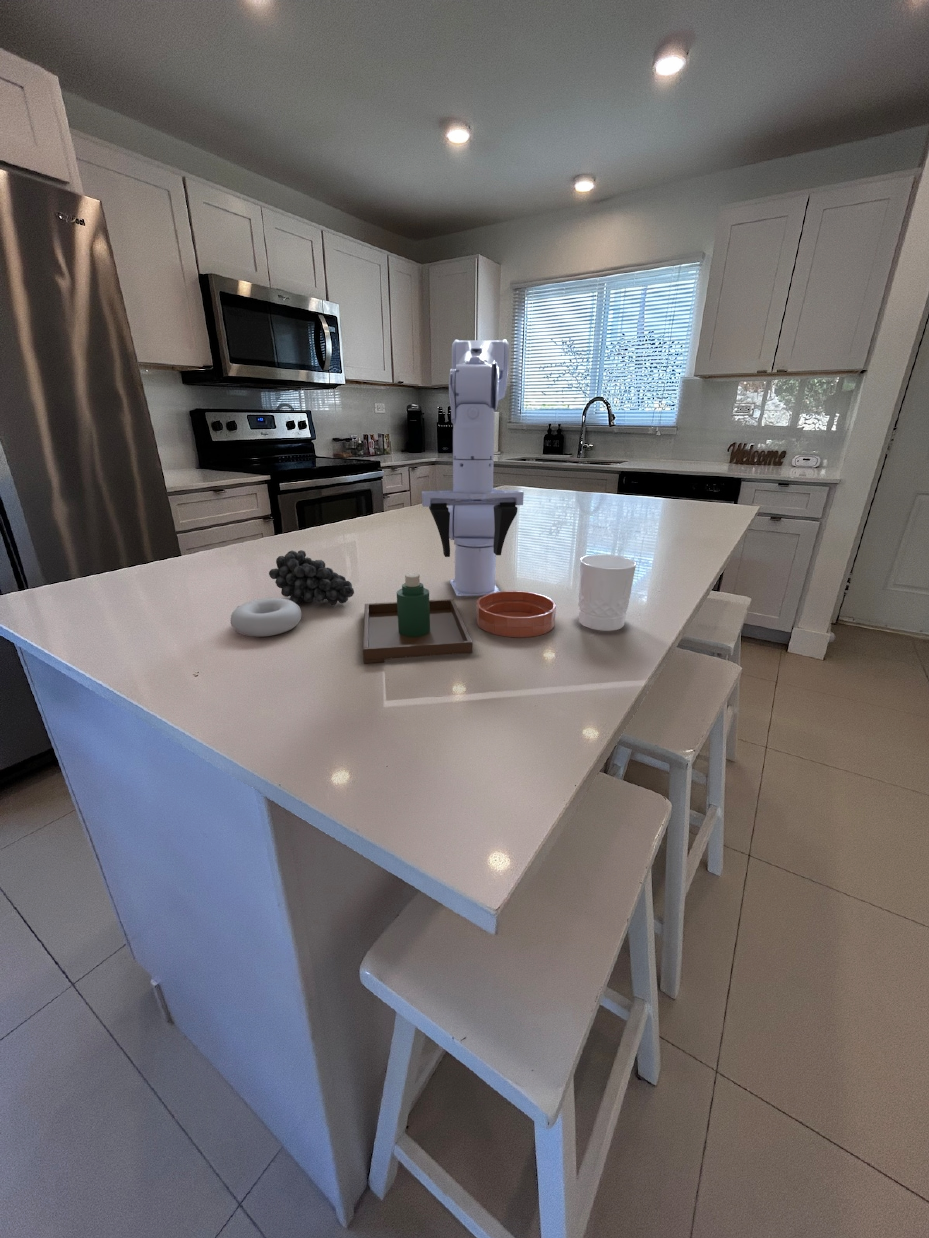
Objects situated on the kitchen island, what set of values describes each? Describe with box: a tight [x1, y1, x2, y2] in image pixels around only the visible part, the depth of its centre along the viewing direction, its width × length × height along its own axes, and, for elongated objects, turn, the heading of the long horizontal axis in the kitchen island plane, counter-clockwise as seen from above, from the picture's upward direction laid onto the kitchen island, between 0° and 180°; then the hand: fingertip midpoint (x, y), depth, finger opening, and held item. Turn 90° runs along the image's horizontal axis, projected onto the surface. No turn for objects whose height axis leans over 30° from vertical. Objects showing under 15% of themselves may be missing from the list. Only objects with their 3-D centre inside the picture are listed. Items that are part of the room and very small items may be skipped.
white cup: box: [578, 554, 637, 632], centre depth 76 cm, size 8×8×10 cm
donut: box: [230, 597, 302, 638], centre depth 76 cm, size 10×4×10 cm
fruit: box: [268, 550, 355, 606], centre depth 85 cm, size 9×8×15 cm
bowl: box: [475, 590, 557, 638], centre depth 77 cm, size 12×12×4 cm
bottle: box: [396, 572, 430, 637], centre depth 72 cm, size 5×5×8 cm
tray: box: [362, 598, 474, 664], centre depth 74 cm, size 17×14×2 cm
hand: (472, 554), depth 76 cm, fingers open, 7 cm apart
